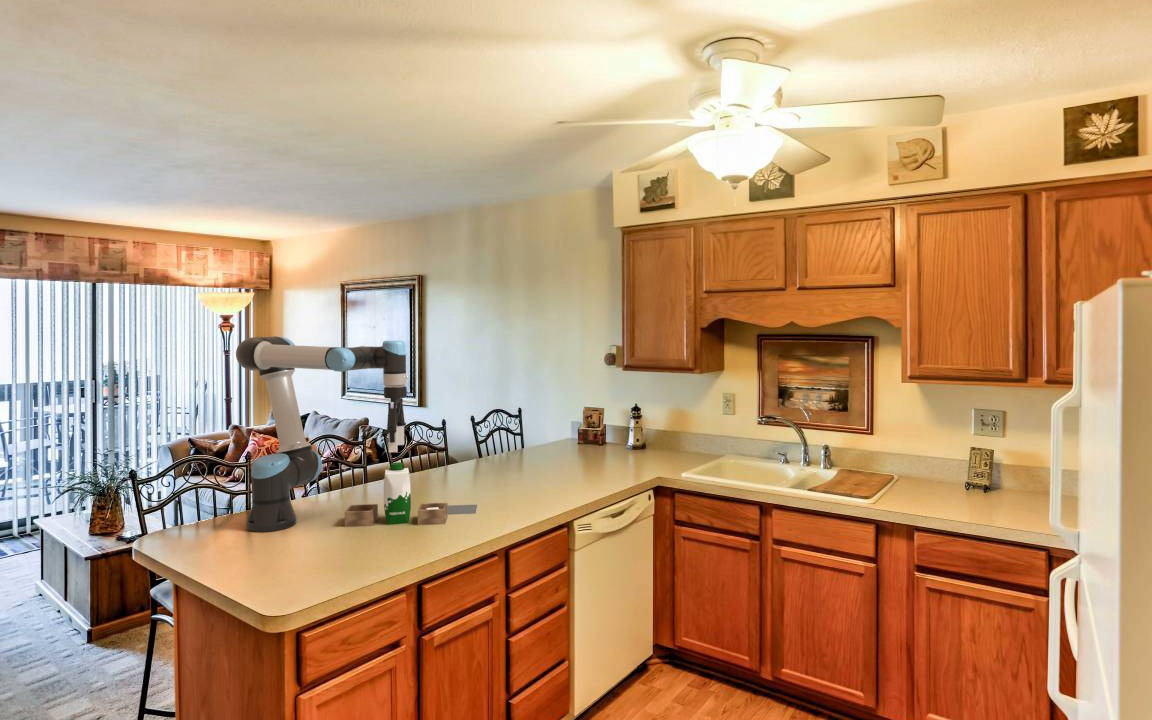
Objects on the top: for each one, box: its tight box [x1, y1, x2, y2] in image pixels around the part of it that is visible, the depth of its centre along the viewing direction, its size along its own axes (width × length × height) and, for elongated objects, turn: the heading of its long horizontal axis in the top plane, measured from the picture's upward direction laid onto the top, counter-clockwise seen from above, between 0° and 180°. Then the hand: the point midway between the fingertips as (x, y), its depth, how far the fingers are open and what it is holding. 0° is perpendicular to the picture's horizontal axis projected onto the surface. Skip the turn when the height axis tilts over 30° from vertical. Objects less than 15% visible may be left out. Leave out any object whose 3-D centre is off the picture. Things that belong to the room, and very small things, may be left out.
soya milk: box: [383, 461, 412, 526], centre depth 223 cm, size 9×9×20 cm
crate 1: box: [343, 503, 379, 528], centre depth 222 cm, size 9×9×6 cm
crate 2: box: [417, 502, 449, 526], centre depth 224 cm, size 9×9×6 cm
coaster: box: [448, 504, 478, 516], centre depth 238 cm, size 12×12×1 cm
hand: (396, 448), depth 223 cm, fingers open, 13 cm apart
